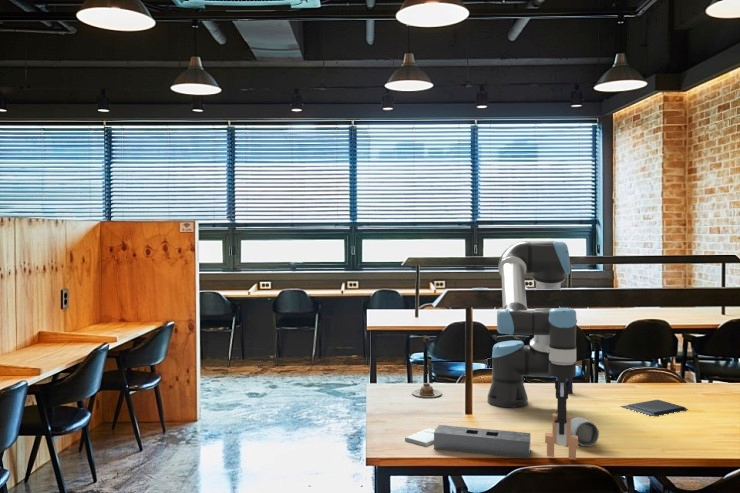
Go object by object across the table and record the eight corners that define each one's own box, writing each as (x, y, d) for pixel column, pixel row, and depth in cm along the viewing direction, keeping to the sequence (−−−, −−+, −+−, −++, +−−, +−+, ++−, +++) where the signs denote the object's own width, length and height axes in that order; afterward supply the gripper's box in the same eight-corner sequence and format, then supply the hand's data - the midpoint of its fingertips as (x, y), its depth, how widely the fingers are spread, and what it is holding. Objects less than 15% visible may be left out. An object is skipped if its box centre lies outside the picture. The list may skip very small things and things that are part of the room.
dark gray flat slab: (652, 413, 224) (618, 403, 238) (652, 419, 224) (618, 408, 238) (691, 407, 232) (656, 397, 246) (691, 412, 232) (656, 402, 246)
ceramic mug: (587, 437, 202) (587, 413, 202) (599, 446, 194) (599, 421, 194) (555, 439, 201) (555, 415, 201) (566, 448, 193) (565, 423, 193)
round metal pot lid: (442, 392, 260) (442, 381, 260) (441, 400, 248) (441, 388, 248) (413, 391, 262) (413, 380, 262) (410, 398, 250) (410, 387, 250)
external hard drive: (404, 442, 199) (427, 432, 209) (426, 448, 194) (448, 437, 203) (404, 437, 199) (427, 427, 209) (426, 442, 194) (448, 432, 203)
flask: (554, 388, 264) (554, 363, 263) (560, 388, 265) (560, 362, 264) (568, 394, 255) (569, 368, 255) (574, 393, 256) (575, 367, 256)
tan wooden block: (545, 453, 186) (545, 412, 185) (577, 456, 183) (578, 415, 183) (545, 456, 183) (545, 415, 182) (577, 459, 180) (578, 418, 180)
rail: (438, 440, 199) (438, 424, 199) (530, 449, 191) (530, 433, 191) (433, 448, 192) (433, 432, 191) (529, 458, 183) (529, 441, 183)
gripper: (549, 355, 191) (548, 432, 191) (548, 367, 175) (547, 450, 176) (575, 357, 188) (574, 435, 189) (576, 369, 173) (575, 453, 174)
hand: (561, 442), depth 183 cm, fingers closed on tan wooden block, 3 cm apart
